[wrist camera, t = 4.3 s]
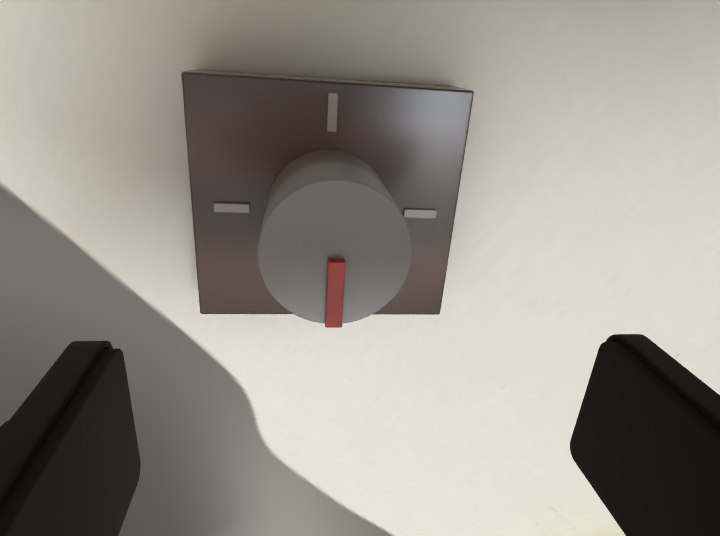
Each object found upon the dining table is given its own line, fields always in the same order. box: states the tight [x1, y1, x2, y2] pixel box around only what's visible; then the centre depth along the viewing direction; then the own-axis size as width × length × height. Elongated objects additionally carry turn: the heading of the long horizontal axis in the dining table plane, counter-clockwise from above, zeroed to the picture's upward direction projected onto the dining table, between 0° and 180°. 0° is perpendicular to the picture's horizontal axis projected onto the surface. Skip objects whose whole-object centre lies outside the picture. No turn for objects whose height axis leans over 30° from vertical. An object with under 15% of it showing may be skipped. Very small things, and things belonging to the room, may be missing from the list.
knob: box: [257, 150, 413, 327], centre depth 17 cm, size 5×5×5 cm
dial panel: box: [182, 70, 474, 314], centre depth 21 cm, size 10×11×3 cm
